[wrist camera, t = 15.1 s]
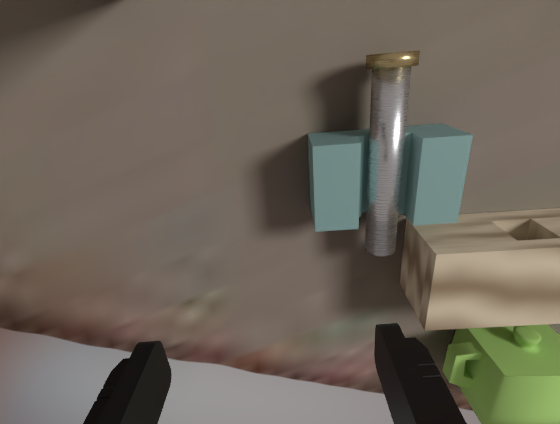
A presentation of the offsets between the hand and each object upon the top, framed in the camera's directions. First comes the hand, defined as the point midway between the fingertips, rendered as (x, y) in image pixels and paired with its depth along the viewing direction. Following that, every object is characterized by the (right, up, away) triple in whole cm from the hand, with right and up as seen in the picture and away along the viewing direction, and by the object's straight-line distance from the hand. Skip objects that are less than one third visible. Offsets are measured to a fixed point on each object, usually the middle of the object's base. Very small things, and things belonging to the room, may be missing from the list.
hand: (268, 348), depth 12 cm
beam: (+25, +1, +25) cm, 35 cm away
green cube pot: (+30, -11, +31) cm, 44 cm away
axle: (+10, +10, +18) cm, 23 cm away
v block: (+10, +10, +21) cm, 25 cm away
